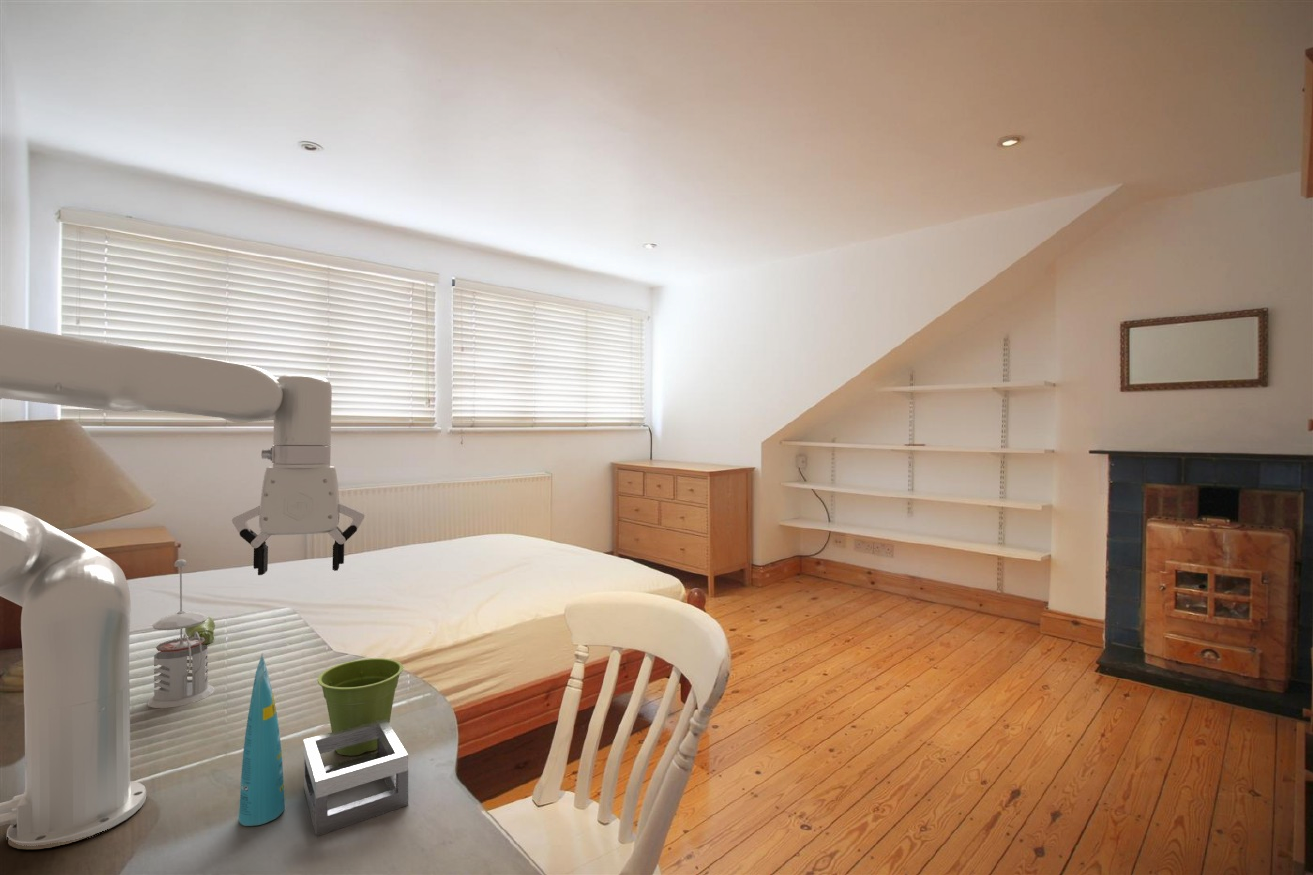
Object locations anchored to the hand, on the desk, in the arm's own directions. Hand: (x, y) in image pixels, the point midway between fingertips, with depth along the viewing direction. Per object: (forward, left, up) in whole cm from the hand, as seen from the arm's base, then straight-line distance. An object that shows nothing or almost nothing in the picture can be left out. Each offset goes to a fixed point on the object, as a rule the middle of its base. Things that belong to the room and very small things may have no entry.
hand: (300, 571), depth 93 cm
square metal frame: (+4, -18, -27) cm, 33 cm away
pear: (-13, +71, -27) cm, 77 cm away
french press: (-15, +34, -27) cm, 46 cm away
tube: (-6, -15, -27) cm, 32 cm away
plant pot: (+8, -4, -27) cm, 29 cm away
